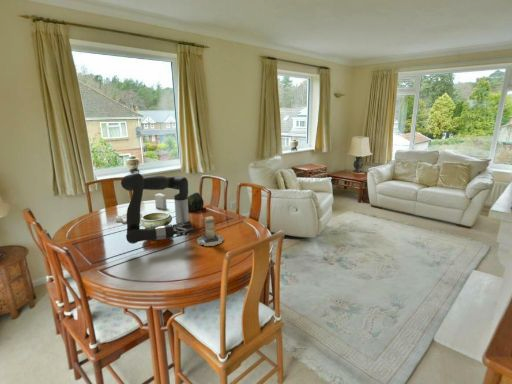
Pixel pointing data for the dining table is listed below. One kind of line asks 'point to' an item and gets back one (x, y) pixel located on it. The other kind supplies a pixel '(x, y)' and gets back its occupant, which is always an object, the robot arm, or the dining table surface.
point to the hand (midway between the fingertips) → (192, 227)
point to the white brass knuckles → (124, 218)
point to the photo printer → (160, 201)
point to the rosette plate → (209, 240)
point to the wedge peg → (209, 227)
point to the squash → (195, 202)
